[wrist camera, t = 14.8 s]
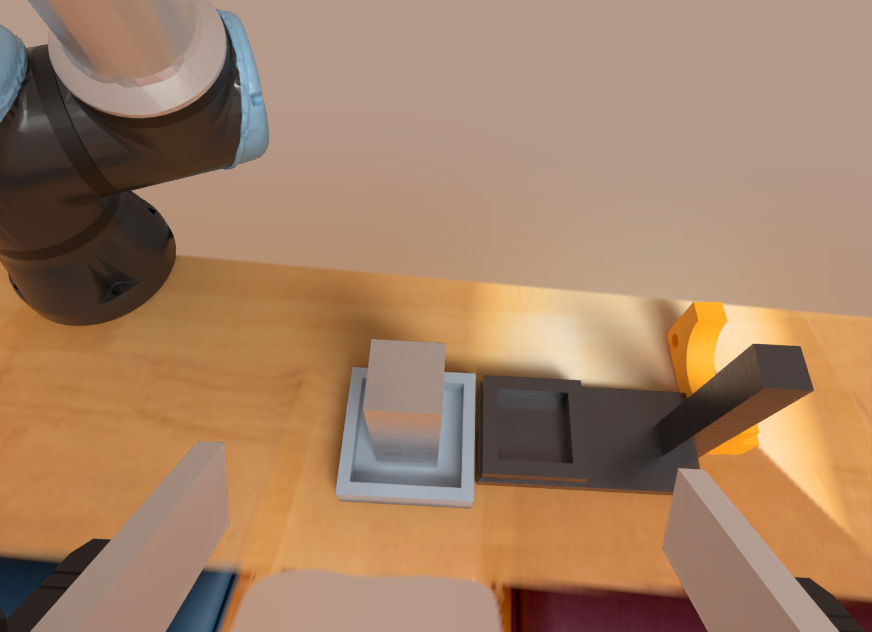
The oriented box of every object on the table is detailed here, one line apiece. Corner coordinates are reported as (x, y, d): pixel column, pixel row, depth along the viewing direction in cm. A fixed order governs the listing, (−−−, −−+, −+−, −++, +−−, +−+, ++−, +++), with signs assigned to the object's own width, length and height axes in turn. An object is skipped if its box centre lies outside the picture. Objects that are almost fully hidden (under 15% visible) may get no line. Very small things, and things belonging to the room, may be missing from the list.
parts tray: (340, 501, 46) (335, 494, 43) (355, 379, 51) (352, 366, 49) (470, 508, 46) (473, 501, 43) (472, 386, 51) (475, 373, 49)
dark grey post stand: (476, 484, 47) (502, 420, 32) (478, 386, 51) (501, 290, 36) (698, 496, 47) (828, 438, 32) (680, 397, 51) (788, 305, 36)
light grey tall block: (378, 465, 47) (362, 410, 34) (384, 409, 49) (371, 339, 37) (436, 468, 47) (442, 414, 34) (439, 412, 49) (445, 343, 37)
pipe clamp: (739, 454, 49) (781, 433, 43) (691, 454, 49) (726, 432, 43) (708, 335, 55) (741, 302, 49) (665, 334, 55) (693, 301, 49)
